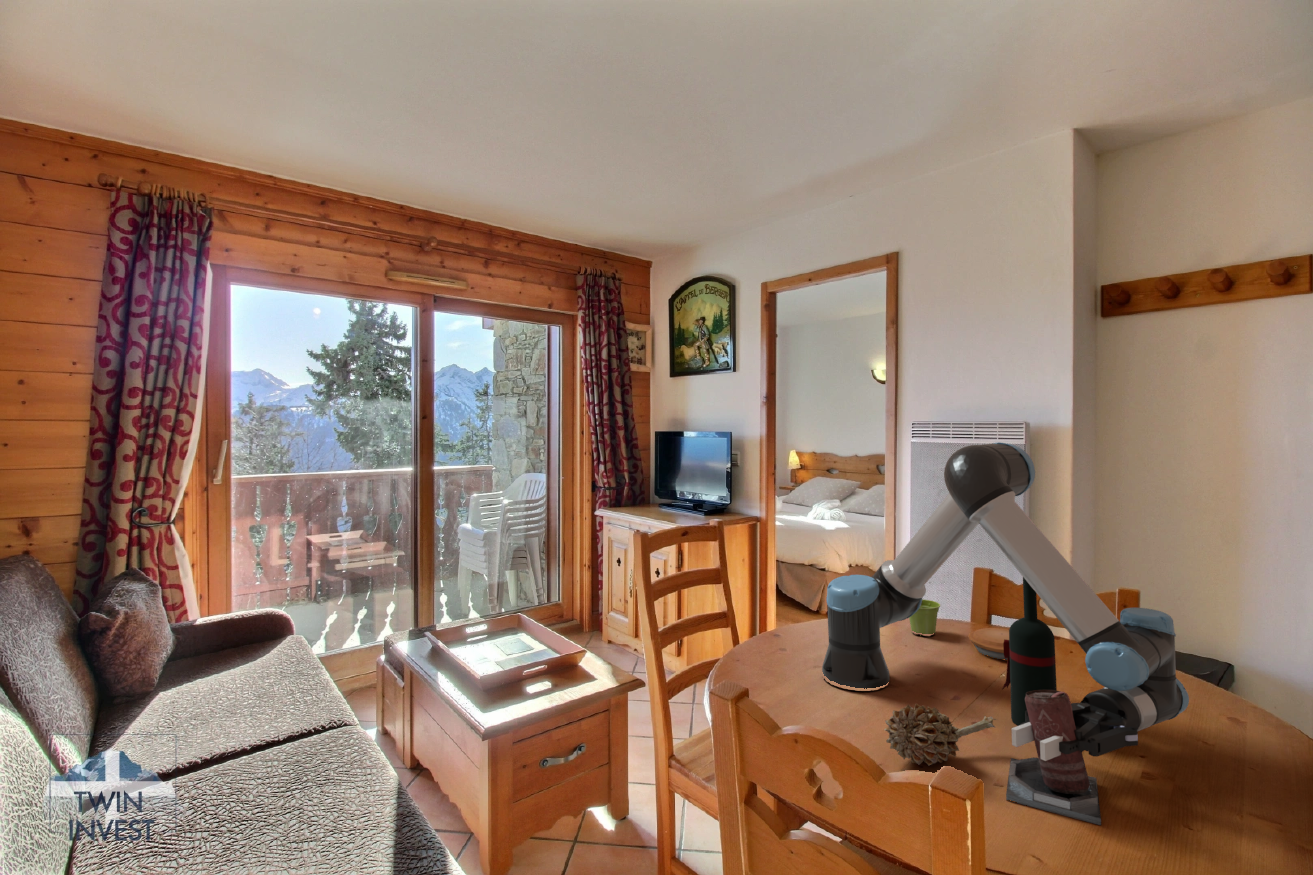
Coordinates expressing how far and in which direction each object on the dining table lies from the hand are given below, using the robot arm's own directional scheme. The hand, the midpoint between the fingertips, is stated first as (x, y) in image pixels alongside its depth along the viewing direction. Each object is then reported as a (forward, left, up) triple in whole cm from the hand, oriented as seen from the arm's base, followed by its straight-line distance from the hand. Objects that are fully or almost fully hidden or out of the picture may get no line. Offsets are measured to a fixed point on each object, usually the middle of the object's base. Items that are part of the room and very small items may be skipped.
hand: (1028, 744), depth 94 cm
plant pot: (-28, +74, -9) cm, 79 cm away
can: (+5, +4, -7) cm, 10 cm away
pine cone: (-14, +7, -9) cm, 18 cm away
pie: (-8, +68, -9) cm, 69 cm away
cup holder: (+3, +5, -9) cm, 10 cm away
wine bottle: (-1, +30, -9) cm, 31 cm away
